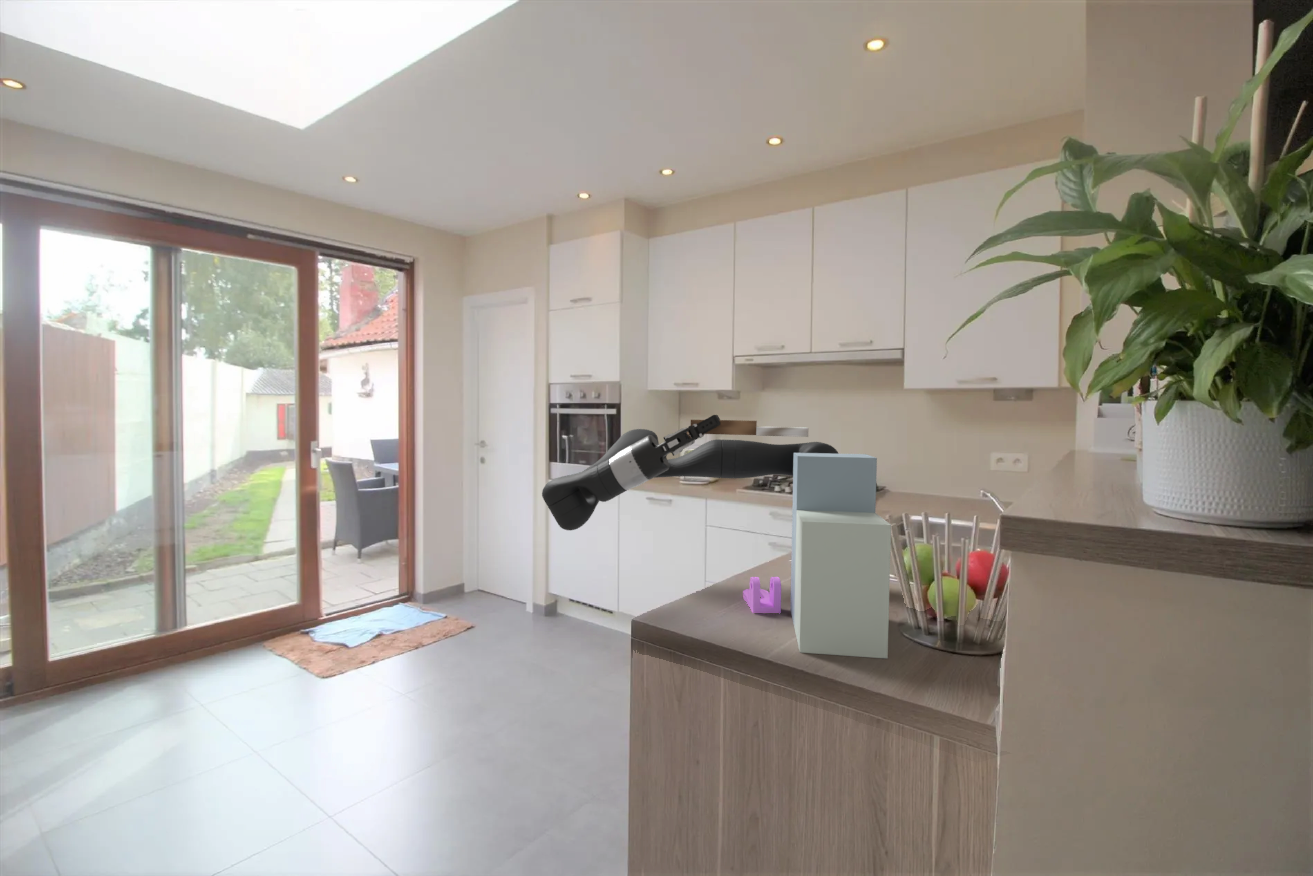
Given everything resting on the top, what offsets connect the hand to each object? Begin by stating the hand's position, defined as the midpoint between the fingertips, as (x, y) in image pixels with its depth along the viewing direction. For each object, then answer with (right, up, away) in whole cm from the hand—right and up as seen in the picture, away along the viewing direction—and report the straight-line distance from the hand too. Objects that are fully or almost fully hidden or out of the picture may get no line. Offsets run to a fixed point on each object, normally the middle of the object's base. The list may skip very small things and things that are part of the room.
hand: (718, 419), depth 110 cm
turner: (+5, -3, -1) cm, 6 cm away
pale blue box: (+21, -39, -1) cm, 44 cm away
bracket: (+10, -39, +15) cm, 43 cm away
